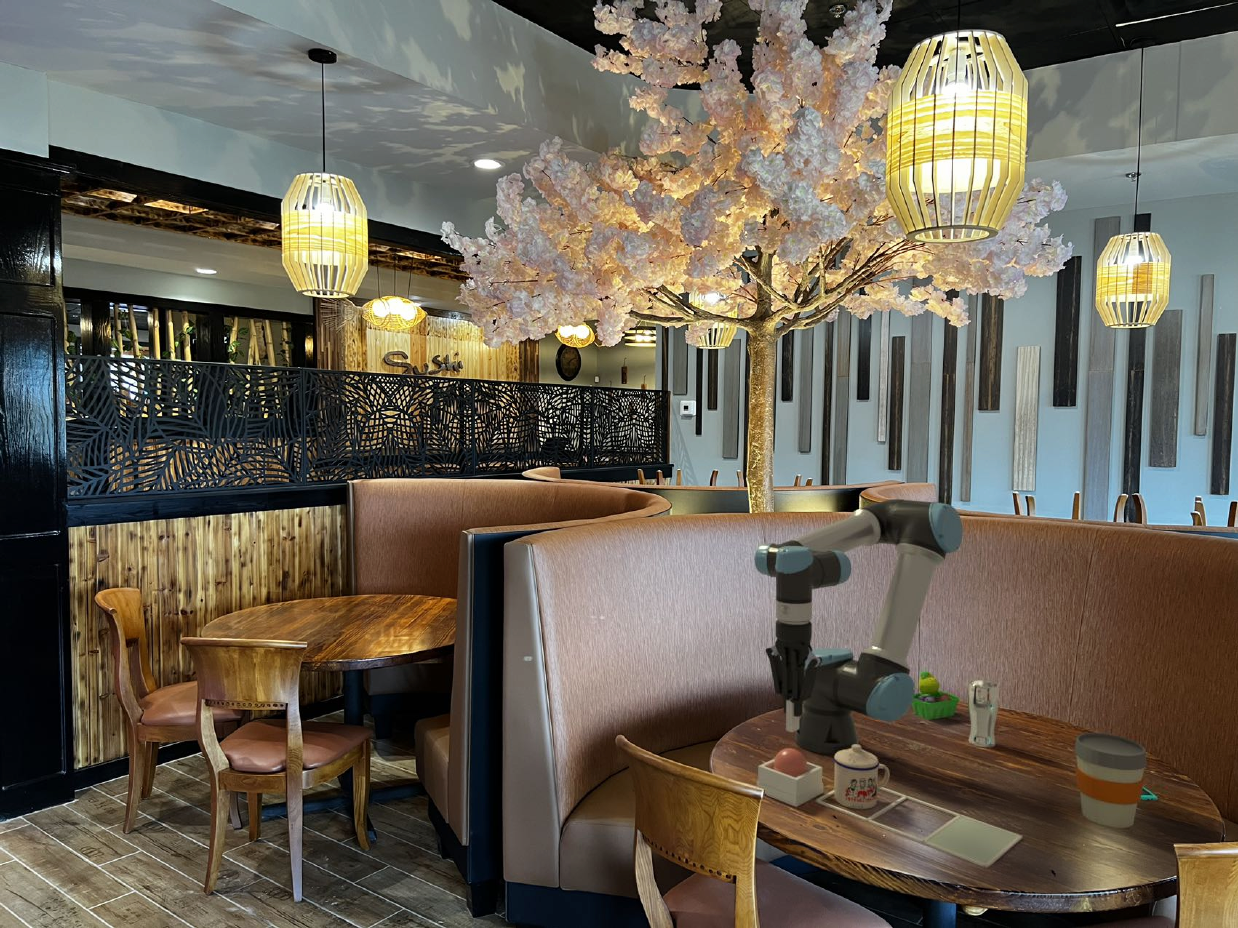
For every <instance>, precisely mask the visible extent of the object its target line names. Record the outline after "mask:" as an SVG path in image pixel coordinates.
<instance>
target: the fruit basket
mask: <svg viewBox="0 0 1238 928" xmlns="http://www.w3.org/2000/svg"><path fill="white" fill-rule="evenodd" d="M940 687H941V686H940V682H939V681H938V679H937V678H936V677H935V676H934V675H933V674H932V673H931V672H929V671H928V670H927V671H926V670H924V671H921V672H920V674H919V681H918V690H919V691H920V693H914V698H913V701H912V704H911V705H912V708H913V712H914V715H917V716H919V717H920V718H922V719H925V720H927V721H930V720H938V719H940V718H941V719H942V718H944V719H945V718H948V717H949V718H950V717H954V716H955V712H956V710H957V706H958V703H959V702H960V699H961V698H959V697H958V696H955V695H953V694H951V693H949V692H946V691H942V690H939V689H940Z"/></svg>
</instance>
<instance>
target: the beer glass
mask: <svg viewBox="0 0 1238 928" xmlns="http://www.w3.org/2000/svg"><path fill="white" fill-rule="evenodd" d="M968 682H969V684H968V690H967V691H968V693H967V706H968V707H967V708H968V715H969V720H970V732H969V737H968V742H969V744H971V745H972V746H975V747H978V746H979V748H985V749H986V748H988V749H989V748H993V747H995V746H996V739H995V726H996V725H995V724H996V720H997V716H998V711H999V703H1000V702H999V701H1000V700H999V698H1000V697H999V695H1000V694H999V684H998V683H996V682H994V681H991V680H986V679H972V680H971V679H970V681H968Z"/></svg>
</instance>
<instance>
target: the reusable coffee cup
mask: <svg viewBox="0 0 1238 928" xmlns="http://www.w3.org/2000/svg"><path fill="white" fill-rule="evenodd" d="M1075 739H1076V740H1075V745H1074V750H1073V751H1074V754H1075V756H1076V763H1075V765H1074V769H1075V778H1076V785H1077V786H1076V787H1077V790H1078V791H1079V793H1080V805H1081V813H1082V815H1083V816H1084V817H1085V818H1086V819H1088V820H1089V821H1091V822H1094V823H1096V822H1097V823H1096V824H1098V825H1103V826H1105V827H1109V828H1110V827H1111V828H1119V829H1120V828H1121V829H1122V828H1123V829H1124V828H1129V827H1131V826H1133V825H1134V822H1135V817H1136V812H1137V806H1138V803H1140V802H1141V801H1142V800H1141V795H1142V790H1143V787H1144V784H1145V776H1144V775H1143V774H1144V772H1145V771H1144V770H1145V768H1146V767H1147V763H1148V762H1147V752H1146V748H1145V746H1143V745H1142V744H1140V743H1139V742H1137V741H1135V740H1132V739H1129V738H1126V737H1124V736H1123V737H1122V736H1119V735H1114V734H1108V733H1101V732H1087V733H1081V734H1078V735H1077V736H1076V738H1075Z"/></svg>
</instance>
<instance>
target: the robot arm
mask: <svg viewBox="0 0 1238 928" xmlns="http://www.w3.org/2000/svg"><path fill="white" fill-rule="evenodd" d="M963 531H964V529H963V523H962V519H961V516H960V514H959V512H958V510H957V509H956V508H955V507H954V506H952V505H950V504H949V503H948V504H947V503H943V502H937V501H932V502H931V501H922V500H921V501H920V500H911V499H901V498H900V499H899V498H894V499H888V500H883V501H879V502H875V503H873V504H870V505H867V506H864V507H861V508H859V509H856V510H854V511H853V512H852V513H850V515H849V517H847V518H844V519H841V520H838V521H836V522H835V523H831V524H829V525H826V526H824V527H821V528H819V529H816V530H813V531H811V532H808V533H806V534H802V535H801V536H798V537H795V538H793V539H790V540H787V541H785V542H782V543H779V544H777V543H775V542H774V543H773V542H770V543H768V542H766V543H765V542H764V543H762V544H761V545H760V546H759V547H758V548H757V549H756V551H755V554H754V557H753V558H754V567H755V568H756V570H757V572H759V574H762V575H765V576H768V577H769V578H775V618H776V619H777V620H775V638H776V640H775V642H774V645H773V646H770V647H767V648H765V654H766V655H767V657H768V660H769V663H770V664H769V666H770V670H771V675H772V680H773V686H774V692H775V694H776V695H780V696H781V698H782V699H783V709H782V710H783V713H784V714H785V715H786V716H785V717H786V718H785V719H786V720H785V722H786V723H785V730H786V732H790V733H794V732H795V734H794V741H795V743H796V744H797V745H798V746H799V747H801V748H803V749H805V750H808V751H811V752H813V753H818V754H825V755H835V754H836V753H837V752H839V751H841V750H847V749H850V748H852V745H854V744H857V745H859V734H858V732H857V728H856V725H855V722H854V718H853V714H852V712H853V713H854V712H855V713H857V714H861V715H863V716H866V717H868V718H870V719H873V720H879V721H883V722H885V723H892V722H896V721H898V720H899V719H901V718H903V717H904V716H905V715H906V714H907V712H908V711H909V709H910V708H911V706H912V705H913V704H912V701H913V698H914V694H916V692H915V687H916V686H915V682H914V680H913V679H912V677H911V676H910V672H911V668H910V666H909V663H908V662H907V658H908V656H909V652H910V649H911V646H912V643H913V639H914V636H915V634H916V630H917V627H918V623H919V620H920V618H921V614H922V610H923V607H924V606H925V605H924V604H925V602H926V598H927V595H928V591H929V589H930V585H931V582H932V578H933V575H934V572H935V569H936V567H938V566H940V565H942V564H944V563H945V559H946V556H947V554H953V553H955V552H956V551H957V550H959V549H960V547H961V545H962V541H963V534H964V533H963ZM877 544H878V545H880V544H881V545H882V544H884V545H885V544H887V545H892V546H893V545H895V550H896V552H897V553H898V558H897V562H896V565H895V568H894V570H893V573H892V574H893V575H892V577H891V580H890V584H889V586H888V590H887V593H886V595H885V599H884V602H883V603H882V608H881V611H880V614H879V617H878V620H877V624H876V627H875V629H874V632H873V634H872V635H873V636H872V638H871V641H870V645H869V647H868V648H865V649H863V650H861V651H860V654H859V657H858V660H855V659H854V657H855V655H854V653H853V651H852V650H850V649H847V648H839V647H837V648H836V647H833V648H831V647H829V648H828V647H827V648H819V649H813V647H812V645H811V642H812V635H813V634H812V633H813V631H812V630H813V624H812V622H811V620H812V619H813V590H818V589H821V588H822V589H823V588H828V587H836V586H839V585H841V584H844V583H845V582H847V581H848V580H849V579H850V577H851V575H852V569H853V568H852V562H851V560H850V558H849V556H848V555H847V554H846V553H847V552H849V551H851V550H854V549H856V548H859V547H861V546H863V547H871V546H874V545H877Z"/></svg>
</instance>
